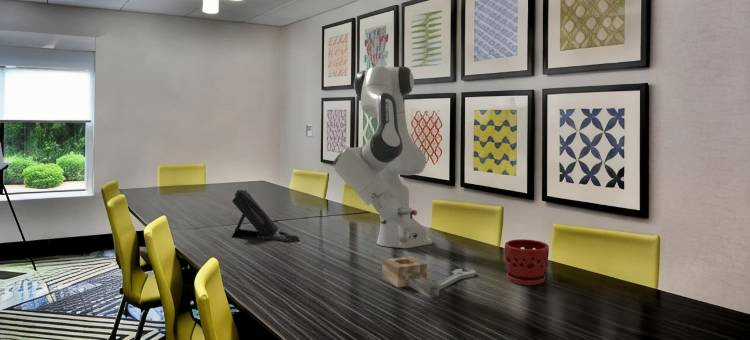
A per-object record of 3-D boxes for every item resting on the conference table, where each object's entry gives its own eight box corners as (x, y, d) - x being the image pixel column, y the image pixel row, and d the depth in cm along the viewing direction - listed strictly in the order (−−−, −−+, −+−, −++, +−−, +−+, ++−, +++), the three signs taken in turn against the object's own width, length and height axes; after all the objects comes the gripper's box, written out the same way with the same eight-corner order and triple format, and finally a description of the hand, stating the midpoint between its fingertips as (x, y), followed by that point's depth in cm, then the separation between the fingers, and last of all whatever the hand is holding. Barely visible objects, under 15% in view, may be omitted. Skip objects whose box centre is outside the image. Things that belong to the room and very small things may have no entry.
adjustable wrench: (434, 294, 154) (434, 288, 154) (416, 290, 159) (416, 284, 158) (478, 275, 173) (478, 270, 173) (460, 272, 178) (460, 266, 177)
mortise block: (409, 274, 172) (410, 256, 172) (449, 294, 153) (449, 274, 152) (382, 278, 168) (382, 259, 167) (419, 299, 148) (419, 278, 148)
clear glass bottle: (406, 238, 167) (407, 206, 167) (413, 241, 163) (414, 208, 163) (393, 239, 165) (394, 207, 165) (401, 242, 162) (401, 209, 161)
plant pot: (499, 275, 173) (500, 238, 172) (540, 276, 173) (542, 239, 172) (508, 287, 160) (509, 247, 159) (553, 288, 160) (554, 248, 159)
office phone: (298, 243, 217) (298, 193, 215) (226, 243, 215) (225, 192, 213) (302, 228, 246) (303, 184, 244) (239, 228, 244) (239, 184, 242)
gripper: (378, 189, 154) (411, 224, 153) (385, 181, 174) (415, 212, 173) (362, 204, 155) (395, 239, 154) (371, 194, 175) (401, 225, 174)
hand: (406, 224), depth 164 cm, fingers closed on clear glass bottle, 4 cm apart
